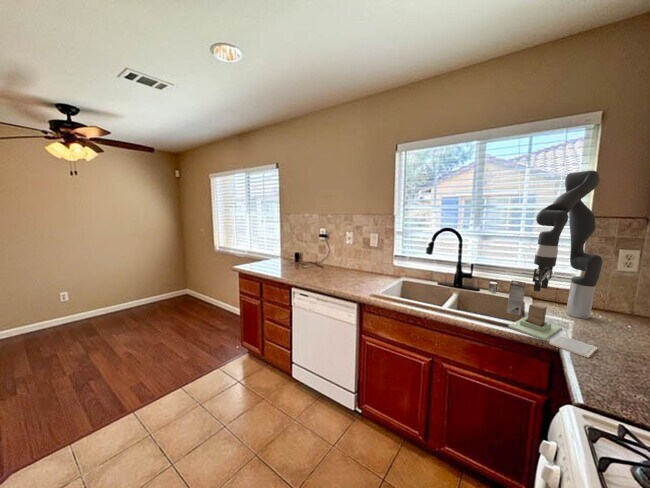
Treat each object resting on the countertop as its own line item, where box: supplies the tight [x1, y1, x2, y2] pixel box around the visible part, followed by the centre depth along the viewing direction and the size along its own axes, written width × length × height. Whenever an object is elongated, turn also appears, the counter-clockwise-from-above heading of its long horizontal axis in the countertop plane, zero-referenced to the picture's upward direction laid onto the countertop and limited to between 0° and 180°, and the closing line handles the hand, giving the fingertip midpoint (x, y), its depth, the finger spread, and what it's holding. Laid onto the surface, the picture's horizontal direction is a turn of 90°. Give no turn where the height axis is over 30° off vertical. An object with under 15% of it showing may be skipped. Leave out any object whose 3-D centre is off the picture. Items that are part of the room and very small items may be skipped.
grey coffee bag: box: [506, 279, 526, 316], centre depth 142 cm, size 9×6×16 cm
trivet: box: [548, 334, 598, 359], centre depth 109 cm, size 12×12×1 cm
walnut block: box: [527, 302, 548, 327], centre depth 123 cm, size 5×5×10 cm
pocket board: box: [507, 315, 563, 341], centre depth 124 cm, size 20×14×3 cm
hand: (540, 289), depth 121 cm, fingers open, 8 cm apart
